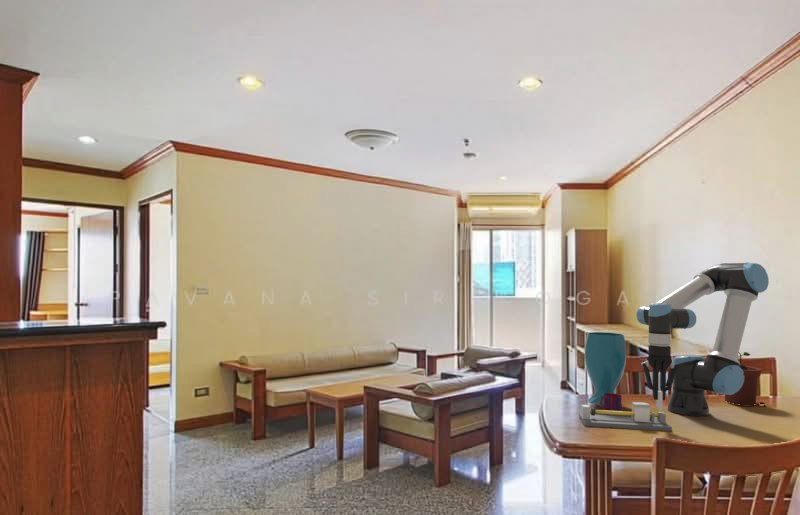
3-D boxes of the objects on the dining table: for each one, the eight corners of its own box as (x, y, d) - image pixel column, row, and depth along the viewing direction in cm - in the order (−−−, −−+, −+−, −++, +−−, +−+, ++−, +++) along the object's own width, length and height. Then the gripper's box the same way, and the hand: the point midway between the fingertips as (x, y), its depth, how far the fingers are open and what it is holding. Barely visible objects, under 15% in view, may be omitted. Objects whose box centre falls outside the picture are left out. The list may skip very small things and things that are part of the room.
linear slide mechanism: (661, 422, 207) (661, 406, 207) (671, 431, 195) (671, 414, 195) (579, 417, 211) (579, 402, 211) (585, 425, 199) (585, 409, 200)
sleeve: (645, 419, 204) (645, 402, 204) (649, 422, 200) (649, 405, 200) (631, 418, 205) (631, 401, 205) (635, 421, 200) (635, 404, 201)
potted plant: (708, 400, 248) (708, 345, 249) (738, 396, 258) (738, 343, 259) (748, 409, 232) (748, 350, 233) (777, 404, 242) (777, 348, 243)
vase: (586, 405, 233) (587, 335, 234) (582, 396, 250) (582, 331, 251) (629, 408, 229) (629, 336, 230) (621, 399, 246) (622, 332, 247)
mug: (624, 413, 220) (625, 396, 221) (604, 414, 217) (605, 397, 217) (613, 409, 227) (613, 392, 227) (593, 410, 223) (593, 393, 224)
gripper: (674, 344, 205) (674, 407, 204) (638, 343, 207) (637, 405, 206) (681, 346, 198) (681, 412, 197) (644, 345, 199) (643, 410, 199)
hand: (659, 408), depth 201 cm, fingers closed
